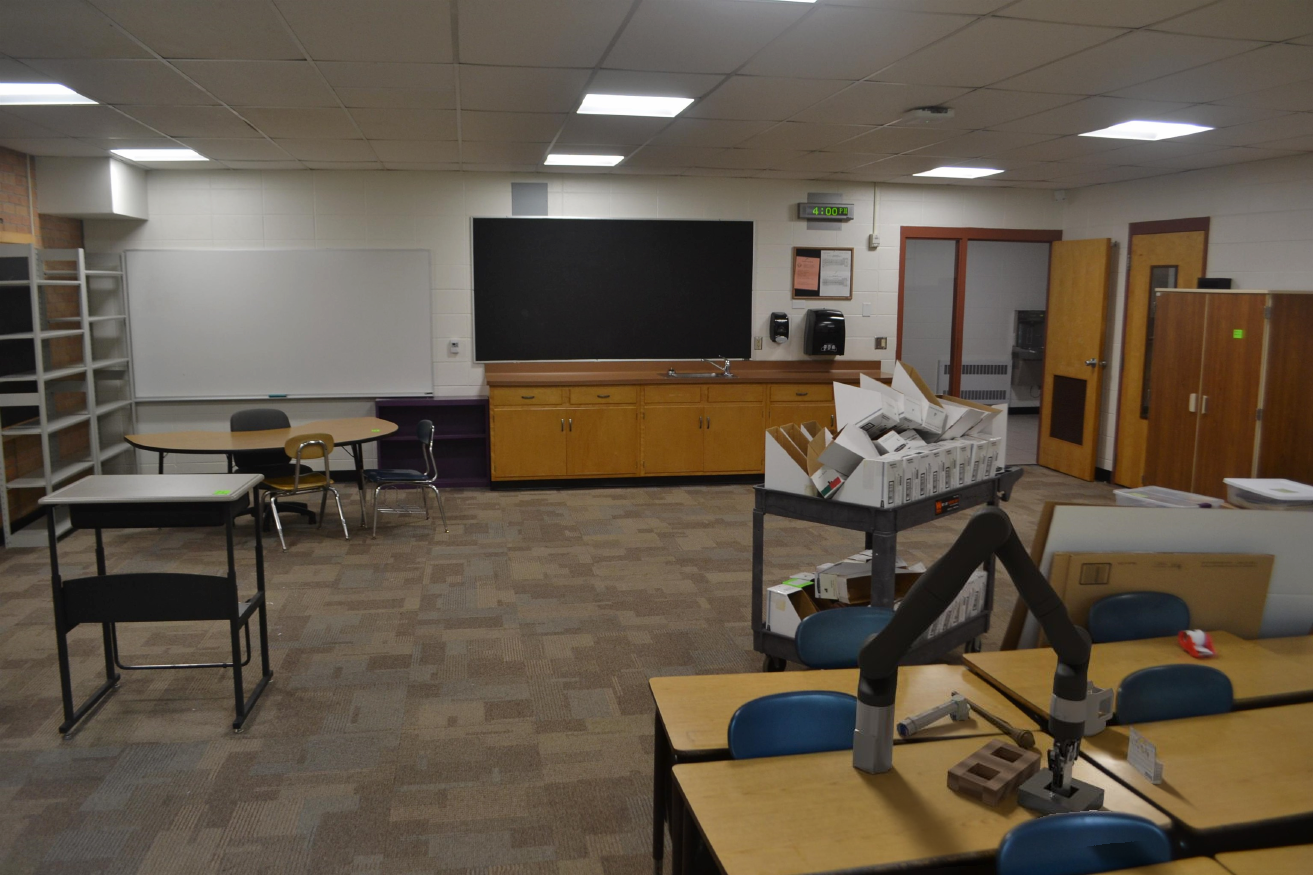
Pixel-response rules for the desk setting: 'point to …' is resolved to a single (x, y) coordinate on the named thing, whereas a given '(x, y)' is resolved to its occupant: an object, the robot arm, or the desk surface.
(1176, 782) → the desk surface
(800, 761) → the desk surface
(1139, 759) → the ink cartridge box
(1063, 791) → the grey tall bar
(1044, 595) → the robot arm
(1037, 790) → the socket block
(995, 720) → the brown knobbed rod
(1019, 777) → the rack
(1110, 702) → the cable organizer
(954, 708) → the grey piece
